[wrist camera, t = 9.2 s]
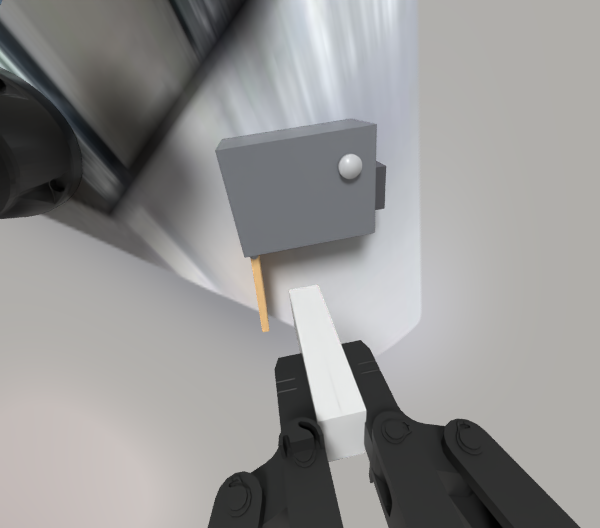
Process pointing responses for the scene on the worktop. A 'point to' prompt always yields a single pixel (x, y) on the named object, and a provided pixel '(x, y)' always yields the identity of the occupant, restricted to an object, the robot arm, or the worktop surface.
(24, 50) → the worktop surface
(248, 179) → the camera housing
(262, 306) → the side door
